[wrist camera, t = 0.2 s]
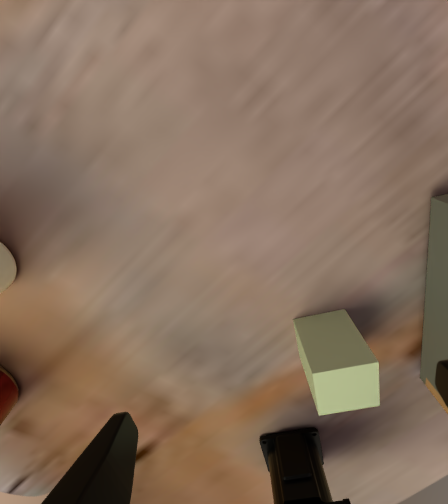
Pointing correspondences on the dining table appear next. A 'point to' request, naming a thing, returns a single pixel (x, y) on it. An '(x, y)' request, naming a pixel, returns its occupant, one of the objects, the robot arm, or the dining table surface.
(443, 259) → the low planter box
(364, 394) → the sage block
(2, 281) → the drinking glass
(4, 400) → the soda can
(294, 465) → the robot arm
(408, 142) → the dining table surface
